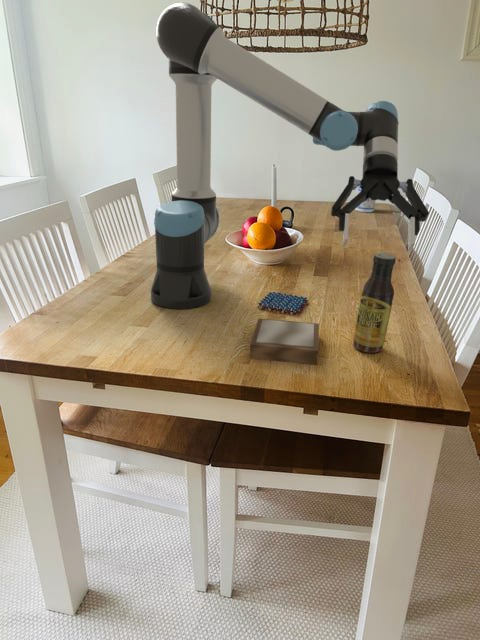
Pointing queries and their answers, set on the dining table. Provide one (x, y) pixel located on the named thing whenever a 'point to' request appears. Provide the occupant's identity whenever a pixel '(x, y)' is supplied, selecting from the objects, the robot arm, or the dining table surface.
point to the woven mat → (283, 303)
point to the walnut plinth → (285, 341)
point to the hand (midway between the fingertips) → (378, 245)
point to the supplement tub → (365, 203)
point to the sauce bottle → (375, 306)
